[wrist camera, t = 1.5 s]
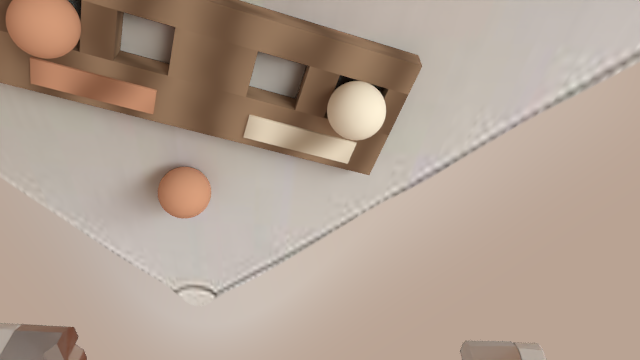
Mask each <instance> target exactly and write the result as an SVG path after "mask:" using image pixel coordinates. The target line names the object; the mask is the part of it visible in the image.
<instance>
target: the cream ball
mask: <svg viewBox="0 0 640 360" xmlns="http://www.w3.org/2000/svg"><path fill="white" fill-rule="evenodd" d="M327 115H328V120H329V123H330V125H331V127H332V128H333V129H334V130H335V132H336V133H338V134H339V135H340V136H342V137H344V138H346V139H350V140H363V139H366V138H369V137H371V136H372V135H374V134H375V133H376V132H377V131H378V130H379V129H380V128H381V126H382V125H383V123H384V120H385V116H386V104H385V101H384V98H383V96H382V94H381V93H380V92H379V90H378V89H376V88H375V87H374V86H373V85H371V84H369V83H366V82H362V81H351V82H347V83H345V84H343V85H341V86H340V87H338V88H337V89H336V90H335V91H334V92H333V94H332V95H331V97H330V99H329V102H328V106H327Z"/></svg>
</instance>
